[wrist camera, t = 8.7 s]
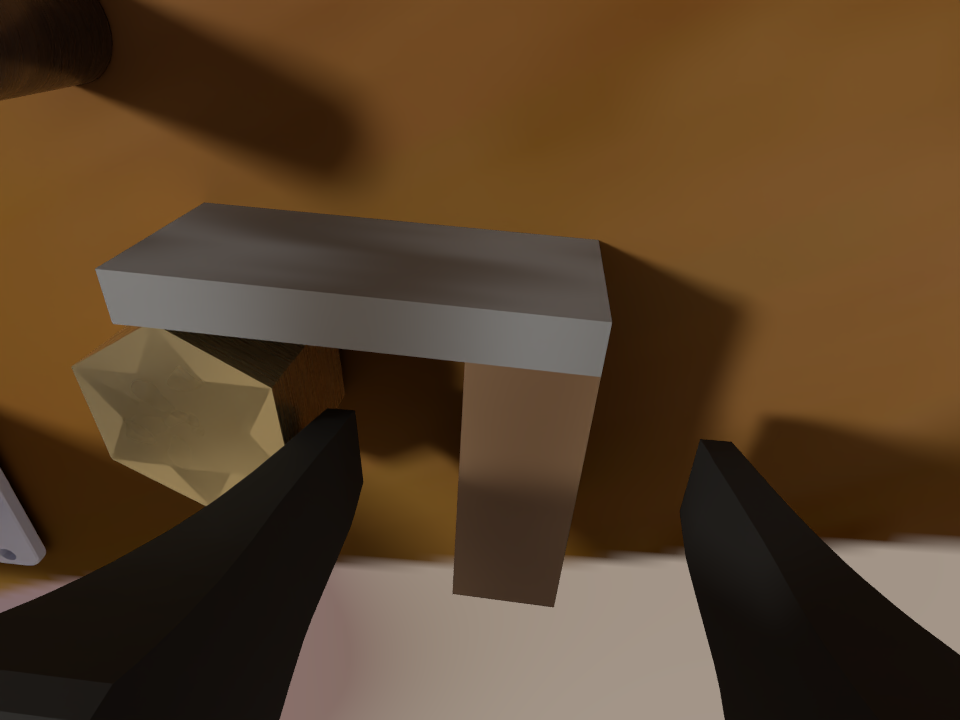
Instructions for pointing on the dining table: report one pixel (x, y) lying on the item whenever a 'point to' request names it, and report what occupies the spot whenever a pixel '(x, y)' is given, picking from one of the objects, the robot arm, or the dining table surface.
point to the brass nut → (203, 402)
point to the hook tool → (414, 346)
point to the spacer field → (51, 45)
